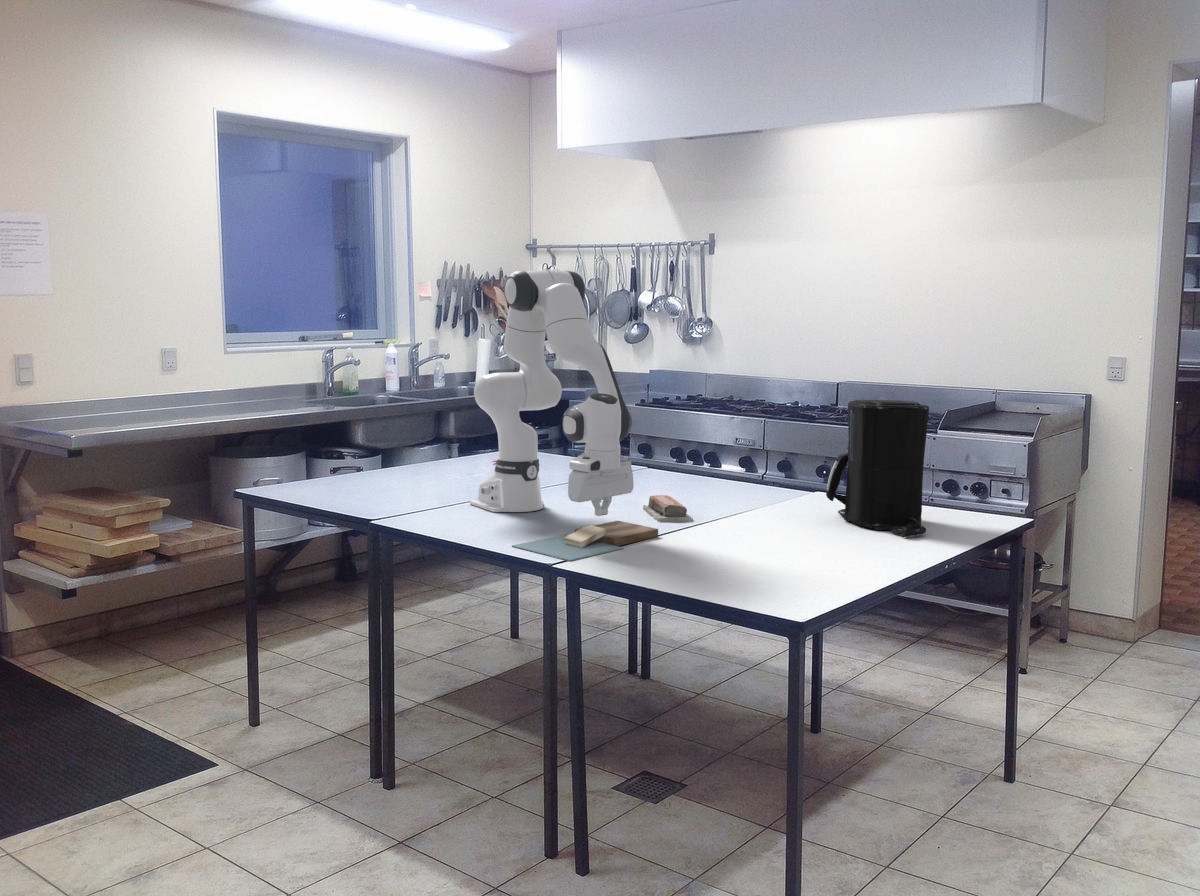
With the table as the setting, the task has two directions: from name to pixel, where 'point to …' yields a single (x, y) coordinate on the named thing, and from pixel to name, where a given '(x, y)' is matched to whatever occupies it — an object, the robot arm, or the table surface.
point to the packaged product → (666, 509)
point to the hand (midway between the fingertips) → (601, 515)
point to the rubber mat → (566, 548)
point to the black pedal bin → (883, 466)
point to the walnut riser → (625, 533)
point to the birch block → (585, 536)
